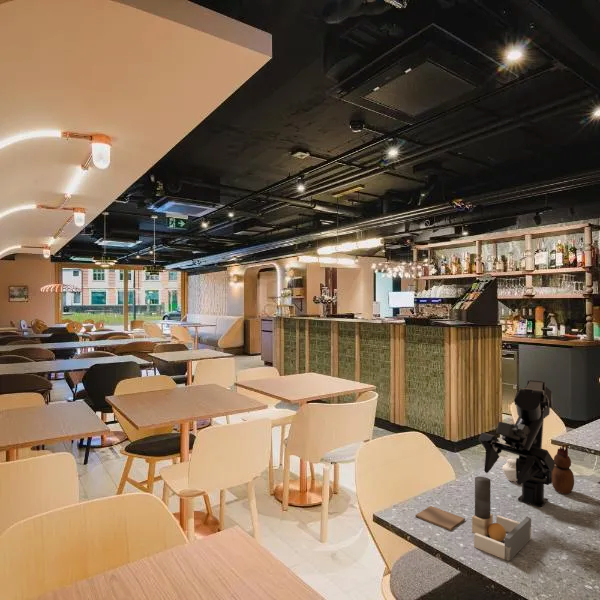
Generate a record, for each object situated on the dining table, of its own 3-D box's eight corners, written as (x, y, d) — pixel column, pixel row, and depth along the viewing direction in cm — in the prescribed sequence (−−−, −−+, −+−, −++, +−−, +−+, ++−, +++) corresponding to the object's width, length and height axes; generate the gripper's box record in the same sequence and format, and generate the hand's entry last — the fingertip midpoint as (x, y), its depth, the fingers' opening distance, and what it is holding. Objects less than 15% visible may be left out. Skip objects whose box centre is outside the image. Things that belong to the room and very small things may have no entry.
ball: (510, 527, 106) (505, 541, 107) (494, 517, 109) (490, 530, 110) (504, 533, 104) (499, 547, 104) (488, 522, 106) (483, 536, 107)
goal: (497, 526, 113) (497, 507, 113) (531, 538, 108) (531, 518, 108) (474, 547, 104) (474, 525, 104) (509, 561, 98) (509, 538, 98)
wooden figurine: (577, 496, 132) (577, 446, 132) (556, 495, 133) (556, 445, 133) (568, 487, 138) (568, 440, 138) (548, 486, 139) (548, 438, 140)
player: (479, 525, 112) (479, 474, 112) (493, 530, 110) (494, 478, 110) (471, 532, 109) (471, 479, 109) (485, 538, 106) (485, 484, 106)
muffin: (498, 476, 147) (498, 455, 147) (515, 476, 148) (515, 455, 148) (509, 484, 141) (509, 462, 141) (527, 483, 141) (527, 461, 142)
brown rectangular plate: (430, 507, 124) (430, 505, 124) (464, 520, 117) (464, 518, 117) (415, 516, 118) (415, 514, 118) (450, 530, 111) (450, 528, 111)
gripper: (482, 404, 125) (457, 449, 119) (548, 418, 109) (523, 471, 103) (499, 428, 129) (475, 473, 123) (565, 445, 113) (541, 497, 107)
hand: (501, 477), depth 114 cm, fingers open, 9 cm apart
